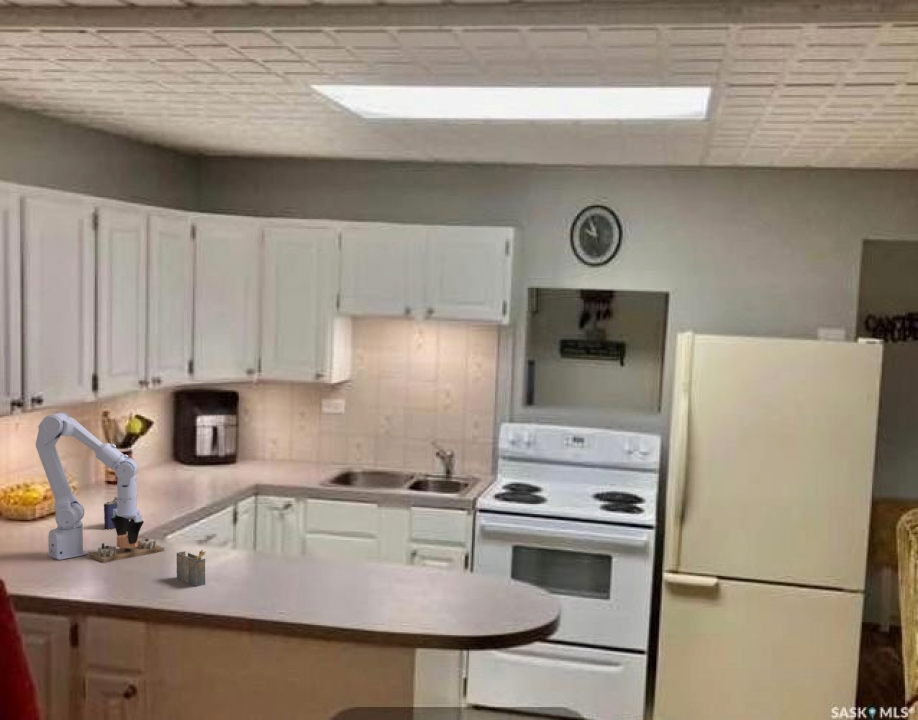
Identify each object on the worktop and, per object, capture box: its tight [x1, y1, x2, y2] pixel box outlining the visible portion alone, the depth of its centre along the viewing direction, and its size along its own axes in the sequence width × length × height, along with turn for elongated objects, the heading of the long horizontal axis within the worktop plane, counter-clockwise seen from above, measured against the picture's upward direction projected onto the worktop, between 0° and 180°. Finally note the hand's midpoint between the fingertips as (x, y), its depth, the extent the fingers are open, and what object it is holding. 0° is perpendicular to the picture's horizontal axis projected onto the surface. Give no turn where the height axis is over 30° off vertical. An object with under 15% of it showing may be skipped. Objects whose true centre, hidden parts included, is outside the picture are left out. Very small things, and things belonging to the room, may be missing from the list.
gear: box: [116, 533, 139, 548], centre depth 294 cm, size 6×6×3 cm
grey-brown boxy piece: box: [176, 549, 207, 587], centre depth 266 cm, size 11×3×10 cm, turn 44°
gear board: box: [89, 538, 165, 563], centre depth 294 cm, size 20×9×5 cm, turn 137°
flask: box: [103, 496, 117, 531], centre depth 330 cm, size 9×3×11 cm, turn 152°
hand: (127, 541), depth 294 cm, fingers closed on gear, 6 cm apart
